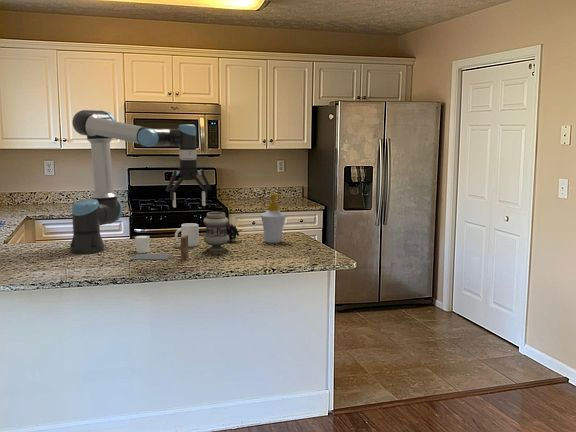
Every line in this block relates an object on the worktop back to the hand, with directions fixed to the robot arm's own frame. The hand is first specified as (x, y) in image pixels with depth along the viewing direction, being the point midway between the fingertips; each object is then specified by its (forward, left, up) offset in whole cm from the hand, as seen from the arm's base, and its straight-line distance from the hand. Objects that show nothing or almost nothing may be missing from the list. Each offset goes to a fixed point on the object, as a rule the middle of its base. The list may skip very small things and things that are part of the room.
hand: (189, 206), depth 257 cm
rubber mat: (-16, -8, -22) cm, 28 cm away
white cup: (-23, +4, -22) cm, 32 cm away
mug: (-5, +18, -22) cm, 29 cm away
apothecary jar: (+11, +7, -22) cm, 26 cm away
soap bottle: (+37, +29, -22) cm, 52 cm away
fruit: (+14, +29, -22) cm, 39 cm away
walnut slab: (-1, -10, -22) cm, 24 cm away
